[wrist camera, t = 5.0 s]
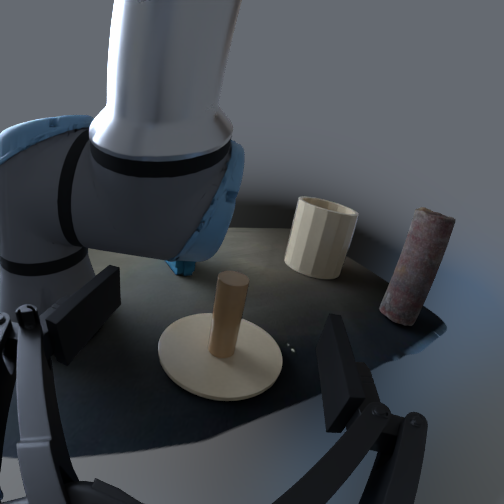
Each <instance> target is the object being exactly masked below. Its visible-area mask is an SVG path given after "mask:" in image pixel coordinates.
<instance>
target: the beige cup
mask: <svg viewBox="0 0 504 504" xmlns="http://www.w3.org/2000/svg"><path fill="white" fill-rule="evenodd" d="M358 215H359V214H358V213H357V212H356V211H354V210H352V209H350V208H348V207H346V206H343V205H341V204H338V203H334V202H331V201H327V200H323V199H319V198H313V197H304V196H303V197H299V199H298V203H297V207H296V212H295V215H294V220H293V224H292V228H291V232H290V236H289V240H288V244H287V249H286V253H285V259H284V260H285V262H286V264H287V265H288V266H289V267H290V268H292V269H293V270H295V271H297V272H299V273H301V274H304V275H307V276H310V277H314V278H318V279H334V278H337V277H339V275H340V273H341V271H342V268H343V265H344V262H345V259H346V256H347V253H348V249H349V246H350V243H351V239H352V236H353V233H354V230H355V226H356V222H357V219H358Z"/></svg>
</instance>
